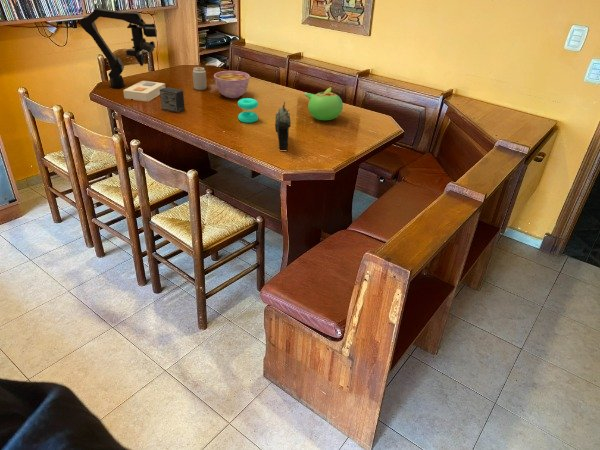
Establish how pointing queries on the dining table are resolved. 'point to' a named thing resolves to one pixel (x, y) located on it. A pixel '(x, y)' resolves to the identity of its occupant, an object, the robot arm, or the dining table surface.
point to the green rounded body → (324, 105)
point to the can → (199, 78)
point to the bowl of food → (231, 83)
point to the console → (143, 95)
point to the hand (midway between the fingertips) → (141, 65)
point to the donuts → (248, 105)
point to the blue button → (149, 84)
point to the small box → (172, 99)
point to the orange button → (139, 89)
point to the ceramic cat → (283, 127)
